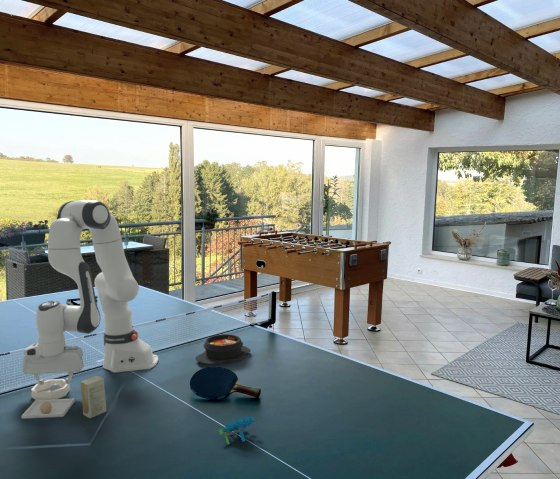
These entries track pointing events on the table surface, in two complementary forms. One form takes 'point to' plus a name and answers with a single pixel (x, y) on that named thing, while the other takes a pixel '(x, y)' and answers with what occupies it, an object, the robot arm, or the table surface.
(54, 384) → the pebble slate
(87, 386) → the skincare box
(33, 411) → the parts tray
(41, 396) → the bowl
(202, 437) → the table surface
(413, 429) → the table surface
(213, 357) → the casserole
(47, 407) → the pebble sand
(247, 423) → the blue plastic piece
